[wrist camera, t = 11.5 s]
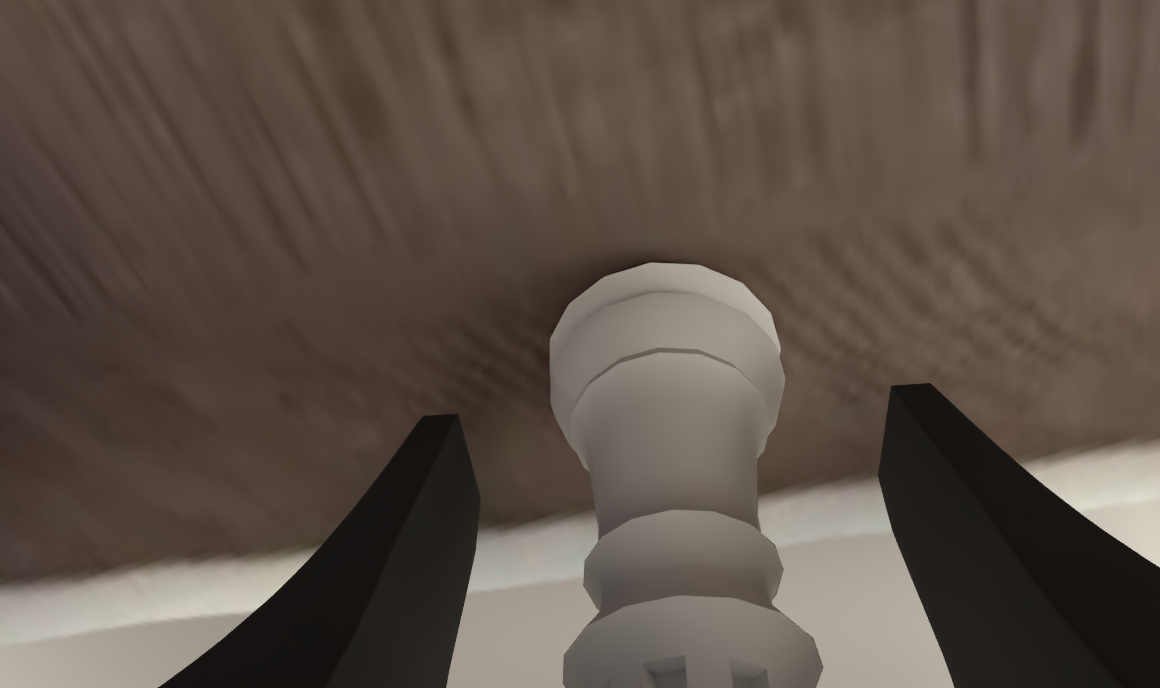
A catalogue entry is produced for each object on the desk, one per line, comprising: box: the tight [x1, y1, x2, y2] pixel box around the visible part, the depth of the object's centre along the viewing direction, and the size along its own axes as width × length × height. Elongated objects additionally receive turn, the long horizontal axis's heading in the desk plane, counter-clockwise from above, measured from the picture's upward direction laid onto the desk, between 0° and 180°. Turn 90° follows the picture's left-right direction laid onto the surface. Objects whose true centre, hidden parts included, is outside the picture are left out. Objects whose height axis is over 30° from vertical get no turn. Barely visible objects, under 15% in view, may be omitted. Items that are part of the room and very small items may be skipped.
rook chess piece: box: [550, 263, 823, 688], centre depth 13 cm, size 4×4×8 cm
